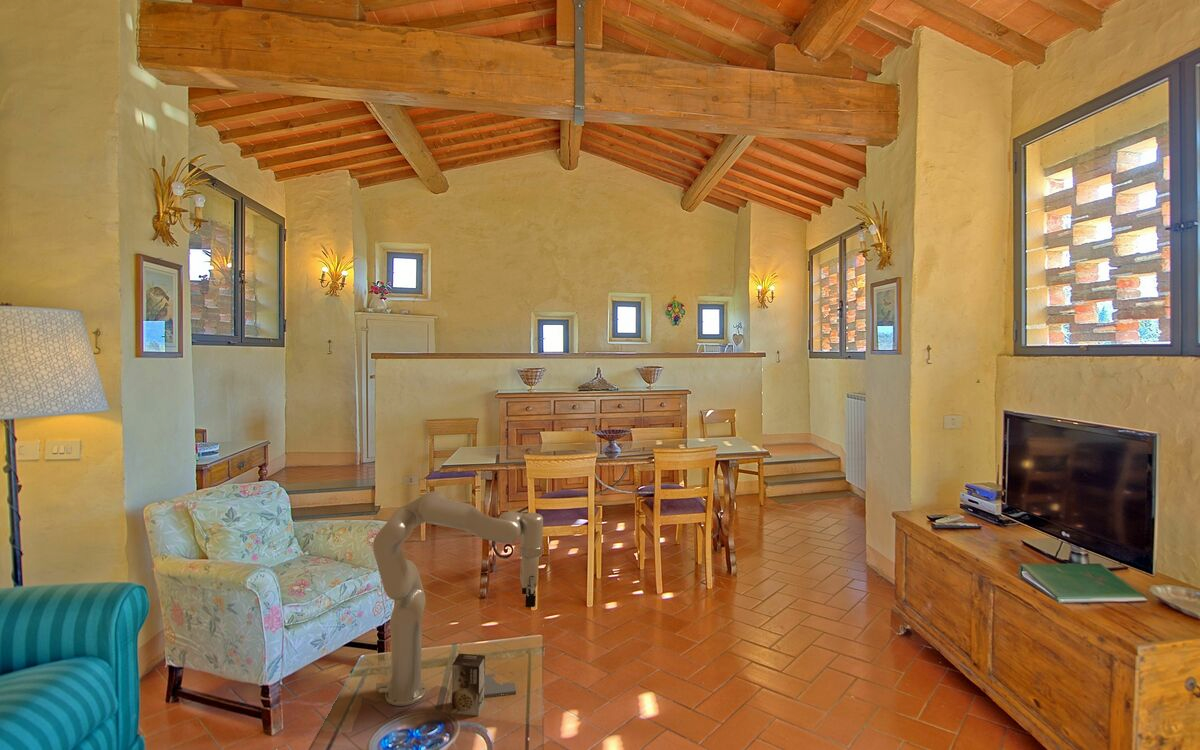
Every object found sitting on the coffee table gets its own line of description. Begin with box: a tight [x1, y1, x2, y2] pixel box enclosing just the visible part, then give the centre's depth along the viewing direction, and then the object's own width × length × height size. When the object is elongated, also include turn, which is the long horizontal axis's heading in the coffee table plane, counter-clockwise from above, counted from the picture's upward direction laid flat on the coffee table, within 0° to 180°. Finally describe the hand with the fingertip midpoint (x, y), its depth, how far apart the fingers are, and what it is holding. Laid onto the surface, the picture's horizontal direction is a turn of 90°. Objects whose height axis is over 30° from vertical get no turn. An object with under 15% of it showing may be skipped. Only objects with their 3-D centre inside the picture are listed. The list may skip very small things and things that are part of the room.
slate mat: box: [484, 673, 517, 699], centre depth 186 cm, size 11×11×1 cm
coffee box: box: [451, 653, 486, 717], centre depth 174 cm, size 9×6×16 cm
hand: (528, 600), depth 186 cm, fingers open, 9 cm apart
